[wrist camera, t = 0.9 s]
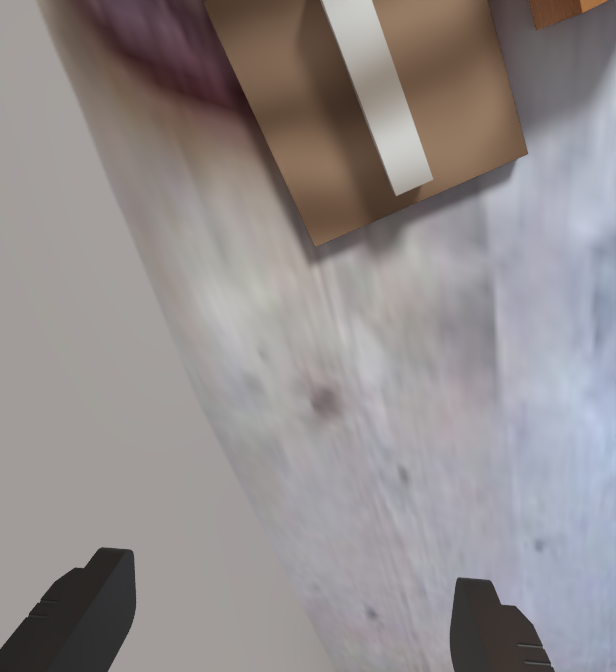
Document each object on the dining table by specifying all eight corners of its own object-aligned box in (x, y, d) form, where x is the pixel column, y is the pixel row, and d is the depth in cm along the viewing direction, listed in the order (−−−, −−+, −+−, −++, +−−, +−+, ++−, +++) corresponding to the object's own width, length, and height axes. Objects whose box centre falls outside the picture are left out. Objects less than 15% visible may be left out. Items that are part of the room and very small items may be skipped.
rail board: (209, 7, 28) (187, -9, 24) (443, -132, 25) (463, -176, 21) (316, 241, 34) (312, 260, 30) (519, 151, 31) (547, 159, 27)
